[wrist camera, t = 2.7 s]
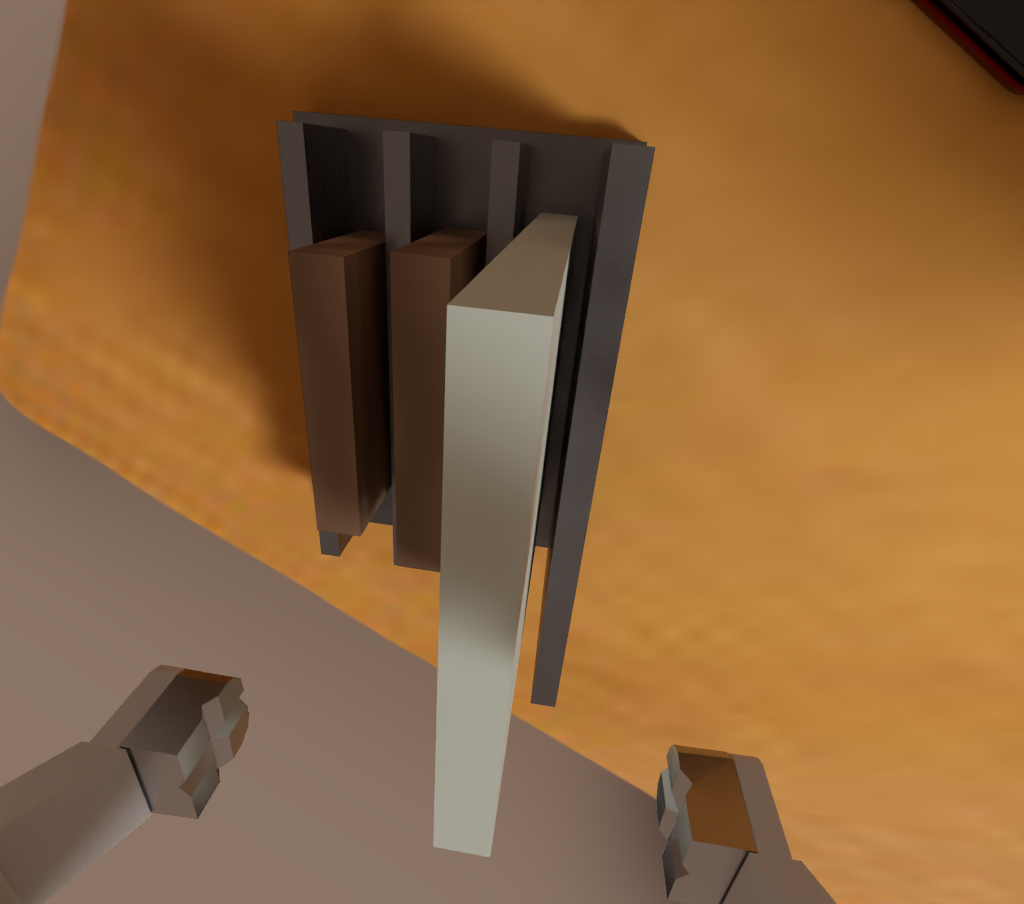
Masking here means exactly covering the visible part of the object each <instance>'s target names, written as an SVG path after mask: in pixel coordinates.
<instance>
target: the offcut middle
mask: <svg viewBox="0 0 1024 904" xmlns="http://www.w3.org/2000/svg"><path fill="white" fill-rule="evenodd" d="M486 246H487V231H478V230H469V229H459V228H449V227H446V228H444V229H442V230H439V231H437V232H435V233H432V234H430V235H428V236H426V237H423V238H421V239H419V240H416V241H414V242H412V243H410V244H407V245H405V246H403V247H400V248H398V249H396V250H394V251H391V252H390V277H391V321H392V366H393V410H394V455H395V499H396V544H397V566H402V567H409V568H415V569H422V570H429V571H435V572H440V565H441V526H442V486H443V447H444V407H445V368H446V328H447V304H448V303H449V302H450V301H451V300H452V299H454V298H455V297H456V296H457V295H458V294H459V293H460V292H461V291H462V290H463V289H464V288H465V287H466V286H467V285H468V284H469V283H470V282H471V281H472V280H473V279H474V278H475V277H476V276H477V275H478V274H479V273H480V272H481V271H482V270H483V269H484V268H485V264H486Z"/></svg>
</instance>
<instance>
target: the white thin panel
mask: <svg viewBox="0 0 1024 904" xmlns="http://www.w3.org/2000/svg"><path fill="white" fill-rule="evenodd" d="M577 219H578V216H572V215H562V214H552V213H542V212H541V213H540V214H539V215H538V216H537V217H536V218H535V219H534V220H533V221H532V222H531V223H530V224H529V225H528V226H527V227H526V228H525V229H524V230H523V231H522V232H521V233H520V234H519V235H518V236H517V237H516V238H515V239H514V240H513V241H512V242H511V243H510V244H509V245H508V246H507V247H506V248H505V249H504V250H503V251H502V252H501V253H499V254H498V255H497V256H496V257H495V258H494V259H493V260H492V261H491V262H490V263H489V264H488V265H487V266H486V267H485V268H484V269H483V270H482V271H481V272H480V273H479V274H478V275H477V276H476V277H475V278H474V279H473V280H472V281H471V282H470V283H469V284H468V285H467V286H466V287H465V288H464V289H463V290H462V291H461V292H460V293H459V294H458V295H457V296H456V297H455V298H454V299H452V300H451V301H450V302H449V303H448V304H447V328H446V368H445V407H444V447H443V486H442V526H441V565H440V605H439V644H438V684H437V685H438V686H437V724H436V764H435V804H434V807H435V808H434V842H433V843H434V844H433V846H434V847H438V848H443V849H449V850H454V851H459V852H465V853H470V854H476V855H481V856H486V857H490V854H491V848H492V841H493V834H494V827H495V820H496V813H497V806H498V799H499V792H500V785H501V778H502V771H503V765H504V758H505V751H506V744H507V737H508V730H509V723H510V716H511V709H512V703H513V696H514V689H515V682H516V675H517V668H518V661H519V654H520V647H521V640H522V634H523V627H524V620H525V613H526V606H527V599H528V592H529V585H530V578H531V571H532V564H533V558H534V551H535V544H536V537H537V530H538V523H539V516H540V509H541V502H542V494H543V486H544V479H545V471H546V463H547V455H548V447H549V439H550V431H551V424H552V416H553V408H554V400H555V392H556V384H557V377H558V369H559V361H560V353H561V345H562V337H563V329H564V322H565V314H566V306H567V298H568V290H569V282H570V274H571V267H572V259H573V251H574V243H575V235H576V227H577Z"/></svg>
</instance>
